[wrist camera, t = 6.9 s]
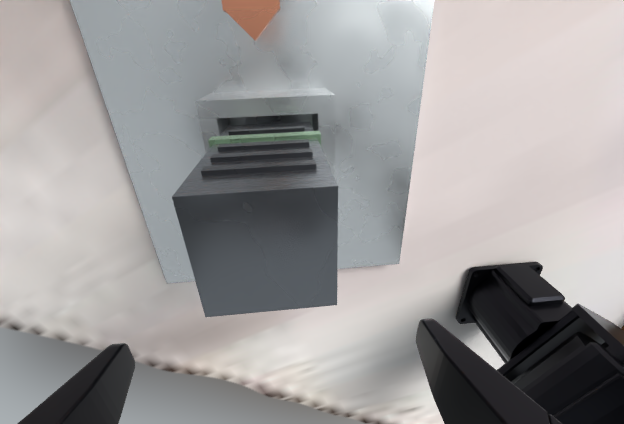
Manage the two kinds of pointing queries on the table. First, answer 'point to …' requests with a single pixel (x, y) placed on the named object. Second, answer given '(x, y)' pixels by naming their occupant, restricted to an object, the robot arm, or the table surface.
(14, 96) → the table surface
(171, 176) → the base
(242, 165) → the block
